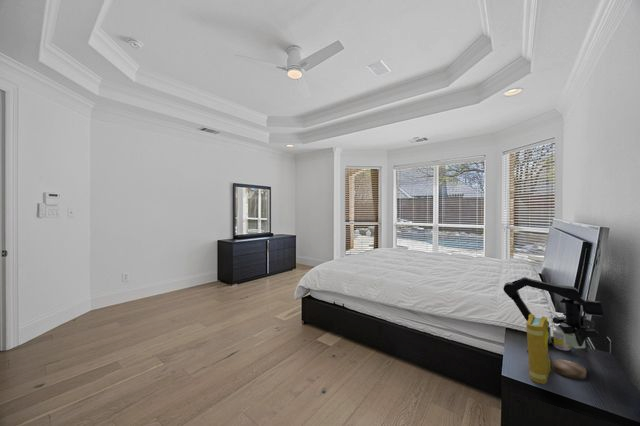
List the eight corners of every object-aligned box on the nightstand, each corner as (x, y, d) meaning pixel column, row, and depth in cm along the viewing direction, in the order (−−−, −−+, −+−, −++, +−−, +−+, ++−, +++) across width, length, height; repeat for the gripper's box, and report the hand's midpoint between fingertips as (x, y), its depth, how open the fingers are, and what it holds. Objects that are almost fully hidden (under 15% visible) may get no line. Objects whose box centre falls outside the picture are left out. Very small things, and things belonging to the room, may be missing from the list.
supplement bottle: (566, 346, 147) (564, 323, 147) (573, 351, 140) (571, 327, 141) (551, 344, 149) (549, 322, 149) (557, 350, 143) (556, 326, 143)
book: (532, 364, 130) (529, 314, 131) (550, 369, 125) (547, 317, 126) (527, 379, 118) (524, 324, 119) (547, 385, 113) (543, 328, 114)
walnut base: (567, 379, 117) (566, 373, 118) (545, 364, 129) (544, 359, 130) (594, 378, 117) (594, 373, 117) (570, 364, 129) (569, 359, 129)
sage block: (574, 348, 128) (574, 338, 128) (565, 343, 133) (565, 333, 133) (585, 348, 127) (584, 337, 128) (575, 343, 132) (575, 333, 133)
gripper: (609, 318, 121) (612, 352, 120) (572, 305, 140) (574, 335, 139) (584, 319, 121) (587, 353, 121) (550, 306, 140) (552, 335, 140)
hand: (575, 343), depth 130 cm, fingers closed on sage block, 5 cm apart
